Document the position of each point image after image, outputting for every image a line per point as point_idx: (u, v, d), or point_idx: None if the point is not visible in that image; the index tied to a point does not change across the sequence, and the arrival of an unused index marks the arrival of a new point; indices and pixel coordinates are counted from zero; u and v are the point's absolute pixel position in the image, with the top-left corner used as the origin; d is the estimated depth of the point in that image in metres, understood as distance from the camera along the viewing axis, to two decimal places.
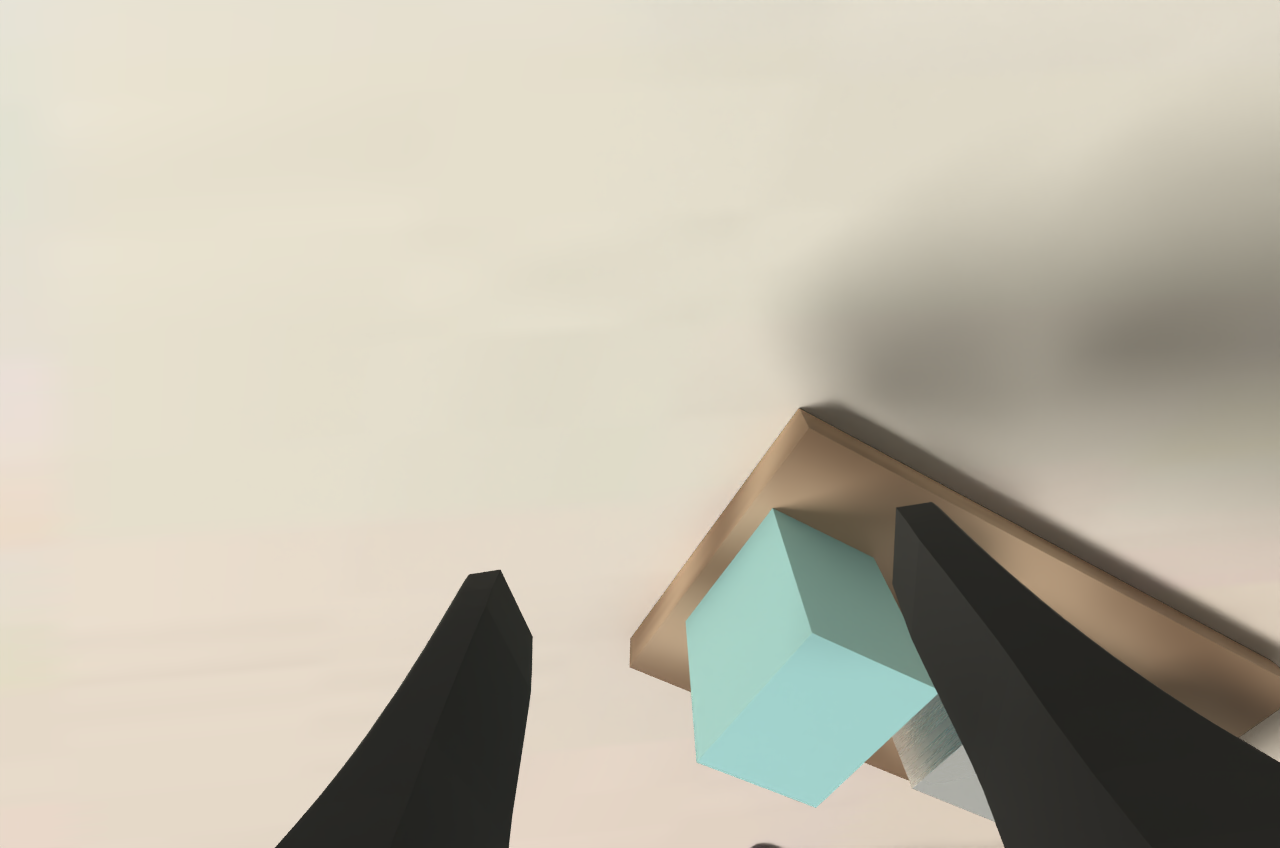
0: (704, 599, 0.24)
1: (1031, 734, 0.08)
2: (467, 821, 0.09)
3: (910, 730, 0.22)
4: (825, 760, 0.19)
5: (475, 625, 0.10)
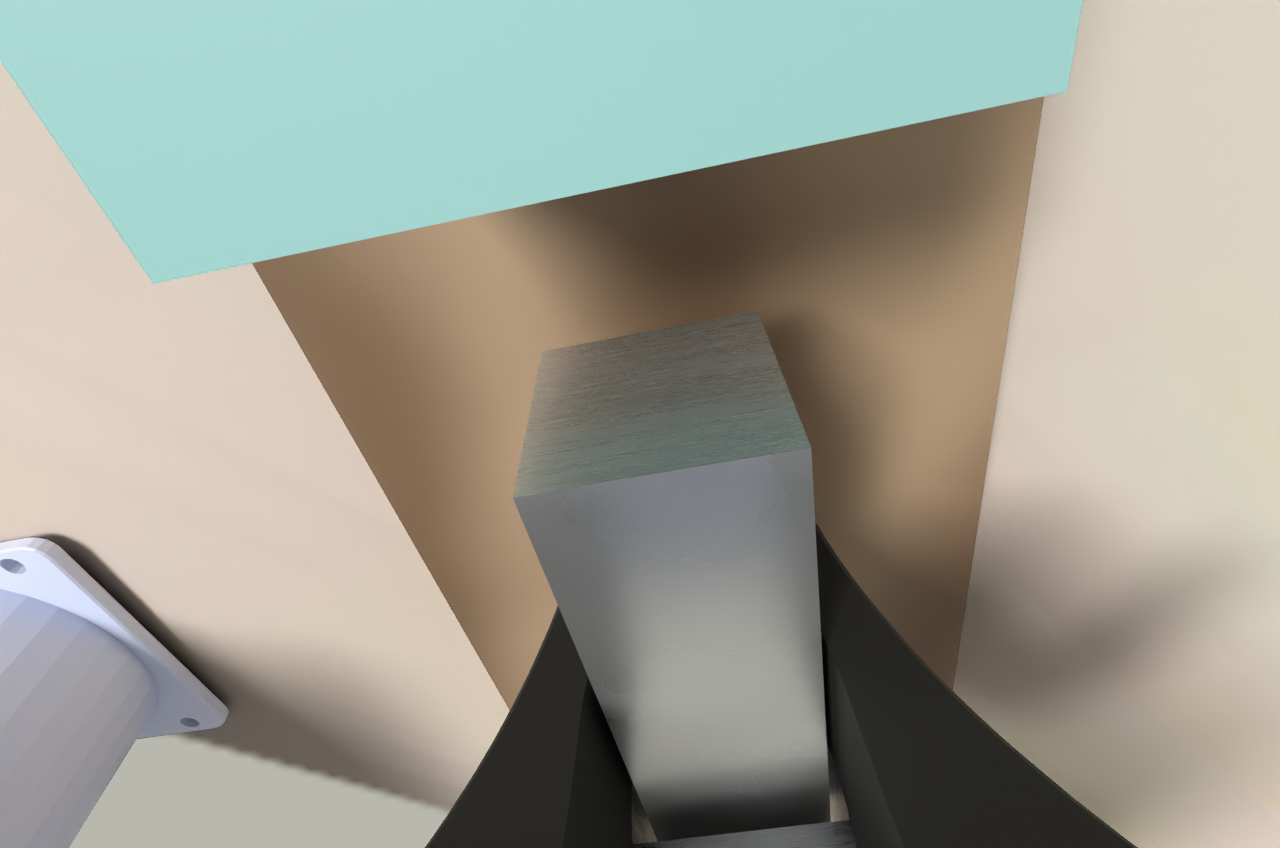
0: None
1: (858, 755, 0.08)
2: (606, 804, 0.09)
3: (596, 398, 0.08)
4: (355, 39, 0.04)
5: None
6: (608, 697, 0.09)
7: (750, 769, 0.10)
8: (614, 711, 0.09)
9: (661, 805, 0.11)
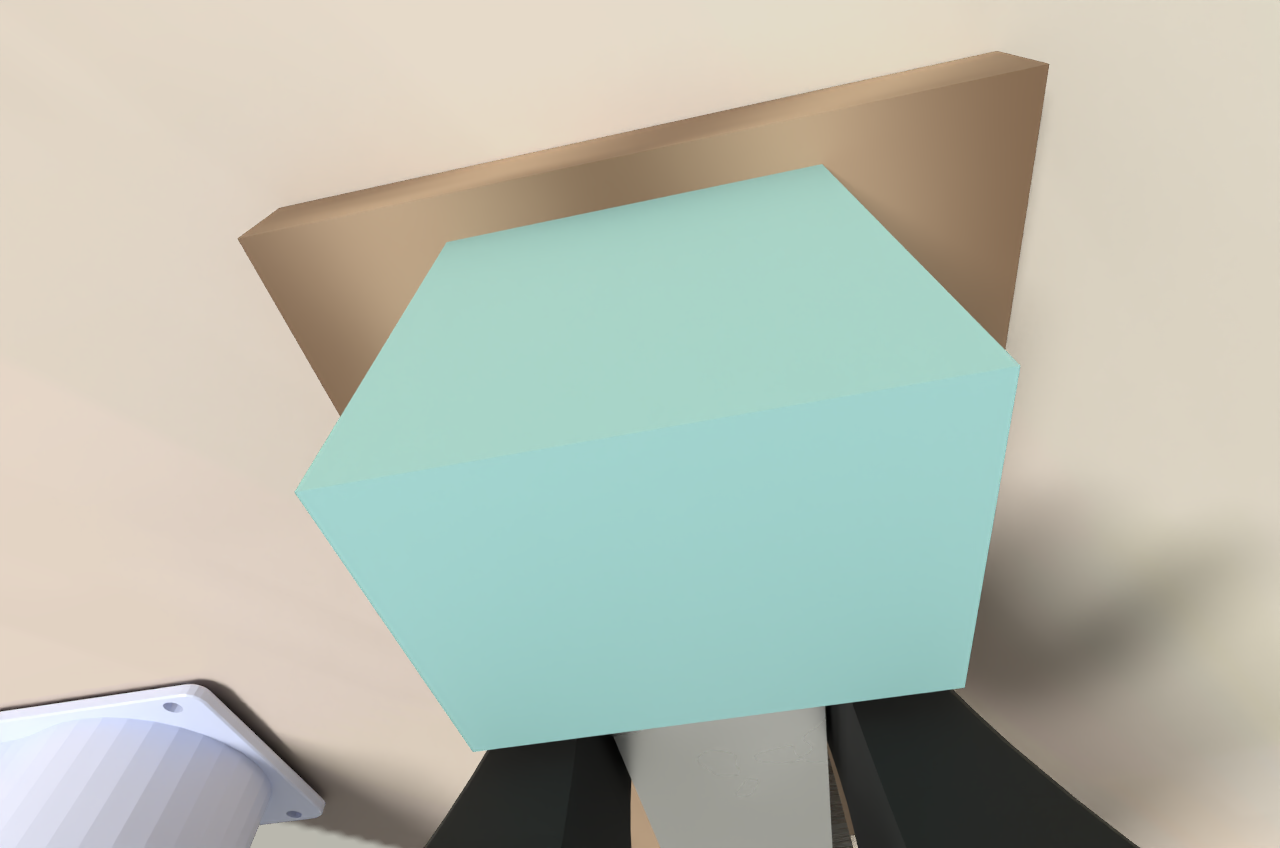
0: (529, 227, 0.10)
1: (859, 755, 0.08)
2: (605, 804, 0.09)
3: None
4: (607, 682, 0.07)
5: None
6: None
7: (750, 774, 0.10)
8: None
9: (662, 809, 0.11)
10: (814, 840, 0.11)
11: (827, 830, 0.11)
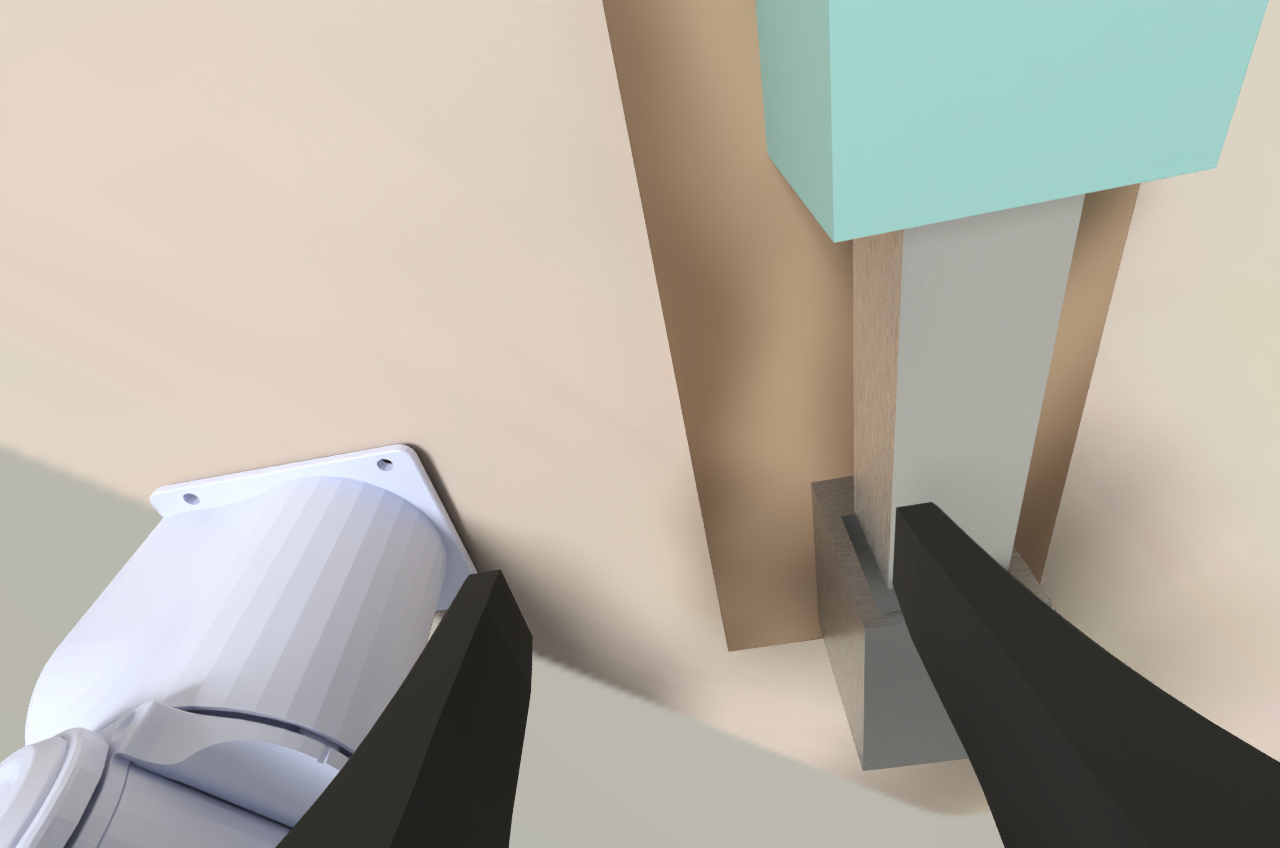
0: None
1: (1031, 734, 0.08)
2: (467, 821, 0.09)
3: None
4: (961, 151, 0.10)
5: (476, 625, 0.10)
6: (911, 245, 0.11)
7: (992, 347, 0.13)
8: (910, 264, 0.12)
9: (911, 395, 0.13)
10: (1019, 445, 0.14)
11: (1033, 431, 0.14)
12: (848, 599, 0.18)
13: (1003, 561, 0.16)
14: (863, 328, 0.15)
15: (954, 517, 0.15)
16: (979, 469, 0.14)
